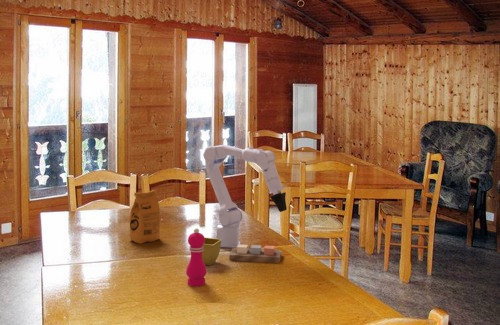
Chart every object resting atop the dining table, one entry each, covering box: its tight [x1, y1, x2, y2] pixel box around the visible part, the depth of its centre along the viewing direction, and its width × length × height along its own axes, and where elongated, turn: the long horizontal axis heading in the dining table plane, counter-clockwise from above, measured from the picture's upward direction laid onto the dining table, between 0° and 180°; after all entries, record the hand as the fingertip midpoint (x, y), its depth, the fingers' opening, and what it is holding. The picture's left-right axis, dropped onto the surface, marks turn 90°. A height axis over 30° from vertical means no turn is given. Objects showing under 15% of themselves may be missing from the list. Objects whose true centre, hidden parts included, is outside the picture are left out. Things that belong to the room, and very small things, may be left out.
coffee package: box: [129, 189, 161, 244], centre depth 268 cm, size 10×12×22 cm
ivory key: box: [237, 244, 249, 254], centre depth 245 cm, size 4×4×3 cm
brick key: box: [263, 245, 276, 255], centre depth 244 cm, size 4×4×3 cm
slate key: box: [249, 244, 262, 254], centre depth 244 cm, size 4×4×3 cm
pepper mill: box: [185, 228, 208, 287], centre depth 212 cm, size 7×7×20 cm
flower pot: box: [202, 237, 221, 266], centre depth 237 cm, size 9×9×9 cm
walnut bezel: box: [228, 248, 282, 264], centre depth 245 cm, size 20×10×2 cm, turn 83°
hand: (283, 211), depth 245 cm, fingers open, 7 cm apart
